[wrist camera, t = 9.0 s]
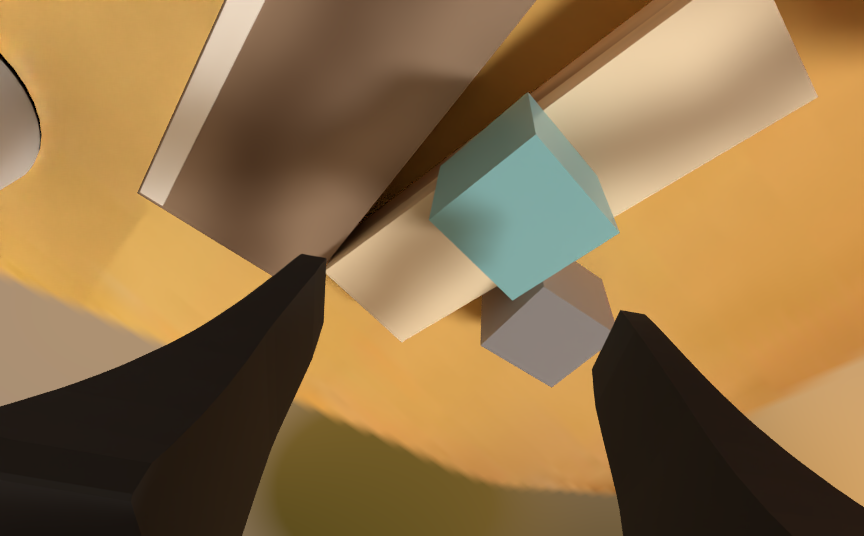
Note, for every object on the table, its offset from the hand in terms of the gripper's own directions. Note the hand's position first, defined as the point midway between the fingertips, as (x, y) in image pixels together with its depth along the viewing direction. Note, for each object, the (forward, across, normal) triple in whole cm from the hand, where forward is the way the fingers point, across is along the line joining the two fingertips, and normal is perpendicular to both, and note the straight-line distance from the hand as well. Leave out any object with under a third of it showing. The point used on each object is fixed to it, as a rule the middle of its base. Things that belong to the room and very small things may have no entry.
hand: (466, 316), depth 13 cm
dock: (+10, +5, -3) cm, 12 cm away
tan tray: (+11, -2, 0) cm, 11 cm away
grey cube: (+8, -3, +5) cm, 10 cm away
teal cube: (+8, -2, -1) cm, 8 cm away
